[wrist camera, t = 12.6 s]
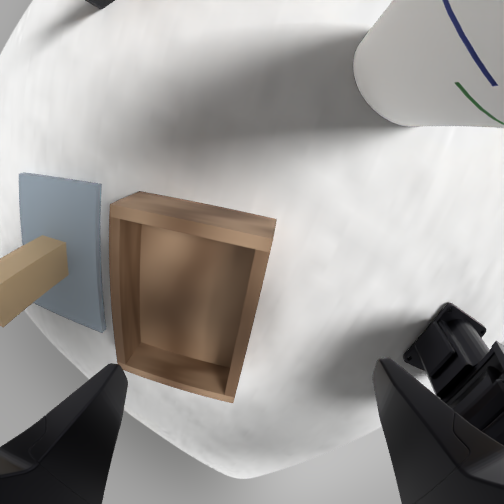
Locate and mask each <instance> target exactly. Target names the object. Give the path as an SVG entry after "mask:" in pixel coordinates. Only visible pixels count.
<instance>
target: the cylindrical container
mask: <svg viewBox="0 0 504 504" xmlns="http://www.w3.org/2000/svg"><path fill="white" fill-rule="evenodd" d="M353 71H354V77H355V81H356V84H357V86H358V89H359V91H360V93H361V95H362V96H363V98H364V99H365V101H366V102H367V103H368V104H369V105H370V107H371V108H372V109H373V110H374V111H376V112H377V113H378V114H379V115H380V116H382V117H384V118H385V119H387V120H389V121H390V122H393V123H396V124H398V125H402V126H409V127H418V126H475V127H496V128H504V0H393V1H392V2H391V4H390V5H389V6H388V7H387V9H386V10H385V11H384V12H383V14H382V15H381V16H380V18H379V19H378V20H377V21H376V23H375V24H374V25H373V27H372V28H371V29H370V31H369V32H368V33H367V35H366V36H365V37H364V38H363V40H362V41H361V42H360V44H359V45H358V47H357V50H356V52H355V55H354V61H353Z"/></svg>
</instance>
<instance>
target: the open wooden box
mask: <svg viewBox="0 0 504 504" xmlns="http://www.w3.org/2000/svg"><path fill="white" fill-rule="evenodd" d="M276 220H277V219H273V218H269V217H264V216H260V215H255V214H251V213H246V212H241V211H237V210H232V209H227V208H223V207H218V206H213V205H208V204H203V203H198V202H193V201H188V200H183V199H178V198H173V197H168V196H162V195H157V194H152V193H146V192H141V191H139V192H137V193H134V194H132V195H129V196H127V197H125V198H123V199H120V200H118V201H116V202H114V203H111V204H110V216H109V268H110V291H111V306H112V319H113V329H114V339H115V347H116V355H117V363H118V364H119V365H120V366H121V367H122V369H123V370H125V371H127V372H130V373H133V374H136V375H138V376H141V377H144V378H147V379H150V380H153V381H156V382H159V383H162V384H165V385H168V386H171V387H174V388H178V389H181V390H184V391H188V392H191V393H195V394H198V395H202V396H206V397H209V398H213V399H217V400H221V401H225V402H230V403H233V402H234V398H235V394H236V390H237V386H238V382H239V378H240V374H241V370H242V366H243V362H244V358H245V354H246V350H247V346H248V342H249V338H250V334H251V330H252V326H253V322H254V317H255V313H256V309H257V305H258V301H259V297H260V292H261V288H262V284H263V280H264V276H265V271H266V267H267V263H268V258H269V254H270V250H271V246H272V241H273V236H274V231H275V226H276Z"/></svg>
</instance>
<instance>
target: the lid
mask: <svg viewBox="0 0 504 504" xmlns="http://www.w3.org/2000/svg"><path fill="white" fill-rule="evenodd" d="M19 204H20V220H21V232H22V242H23V246H21V247H20V248H18V249H16V250H14V251H13V252H11V253H9V254H7V255H6V256H4V257H2V258H1V259H0V326H2V327H4V326H6V325H7V324H8V323H9V322H10V321H11V320H13V319H14V318H15V317H16V316H17V315H19V314H20V313H21V312H22V311H23V310H25V309H26V308H27V307H28V306H29V305H31V304H32V303H35V304H37V305H39V306H41V307H43V308H45V309H47V310H50V311H52V312H54V313H56V314H58V315H61V316H63V317H65V318H67V319H70V320H72V321H74V322H77V323H79V324H81V325H84V326H86V327H89V328H91V329H94V330H96V331H99V332H101V333H103V332H104V330H105V329H106V325H105V316H104V306H103V294H102V279H101V255H100V206H101V184H98V183H92V182H86V181H80V180H73V179H67V178H60V177H53V176H46V175H39V174H32V173H20V174H19Z"/></svg>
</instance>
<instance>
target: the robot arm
mask: <svg viewBox="0 0 504 504" xmlns="http://www.w3.org/2000/svg"><path fill="white" fill-rule="evenodd" d="M450 308H451V309H450ZM449 309H450V310H449ZM448 310H449V311H448ZM485 332H486V328H485V327H484V326H483V325H482V324H481V323H479V322H478V321H476V320H475V319H474V318H472V317H471V316H469V315H468V314H467V313H465V312H464V311H462V310H461V309H459V308H458V307H457V306H455V305H454V304H452V303H448V304H447V305H446V306H445V307H444V308H443V309H442V311H441V312H440V313H439V315H438V316H437V317H436V318H435V320H434V321H433V322H432V323H431V324H430V326H429V327H428V328H427V329H426V330H425V332H424V333H423V334H422V335H421V336H420V337H419V339H418V340H417V341H416V342H415V343H414V344H413V345H412V346H411V348H410V349H409V350H408V351H407V352H406V353H405V354H404V356H403V358H404V361H405V362H406V363H408V364H411V365H413V366H415V367H417V368H420V369H422V370H424V371H426V373H427V376H428V378H429V380H430V383H431V385H432V387H433V390H434V392H435V394H433V393H432V392H431V391H430V390H429V389H427V388H426V387H425V386H424V385H423V384H421V383H420V382H419V381H418V380H416V379H415V378H414V377H413V376H412V375H410V374H409V373H408V372H407V371H406V370H404V369H403V368H402V367H401V366H400V365H398V364H397V363H396V362H395V361H393V360H392V359H391V358H389V357H385V358H379V359H378V360H377V362H376V366H375V369H374V372H373V384H374V389H375V395H376V401H377V406H378V412H379V417H380V421H381V424H382V428H383V431H384V435H385V438H386V442H387V445H388V449H389V453H390V456H391V461H392V465H393V468H394V472H395V476H396V480H397V484H398V489H399V493H400V498H401V502H402V504H504V346H503V345H502V344H500V343H499V342H498V341H496V342H495V343H494V344H493V345H492V348H491V349H490V350H489V348H488V347H487V345H486V344H485V343H484V341H483V340H482V336H483V335H484V334H485ZM408 357H409V358H408ZM127 387H128V380H127V378H126V375H125V373H124V371H123V369H122V367H121V366H120V365H119V364H112V363H111V364H108V365H107V366H106V367H104V368H103V369H102V370H101V371H99V372H98V373H97V374H96V375H94V376H93V377H92V378H91V379H90V380H88V381H87V382H86V383H85V384H83V385H82V386H81V387H80V388H79V389H77V390H76V391H75V392H73V393H72V394H71V395H70V396H69V397H67V398H66V399H65V400H64V401H62V402H61V403H60V404H59V405H58V406H56V407H55V408H54V409H53V410H51V411H50V412H49V413H48V414H47V415H46V416H44V417H43V418H41V419H40V420H39V421H38V422H36V423H35V424H34V425H32V426H31V427H30V428H28V429H27V430H25V431H24V432H22V433H21V434H19V435H18V436H16V437H15V438H13V439H12V440H10V441H9V442H7V443H6V444H4V445H2V446H1V447H0V504H102V500H103V495H104V490H105V486H106V481H107V477H108V472H109V468H110V464H111V459H112V456H113V451H114V448H115V444H116V440H117V436H118V432H119V429H120V425H121V421H122V416H123V410H124V404H125V398H126V392H127Z"/></svg>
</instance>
